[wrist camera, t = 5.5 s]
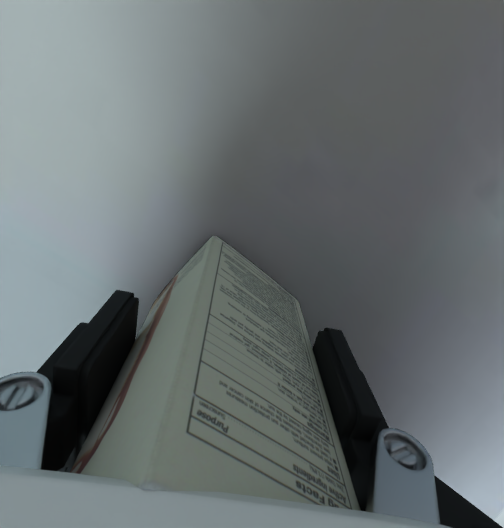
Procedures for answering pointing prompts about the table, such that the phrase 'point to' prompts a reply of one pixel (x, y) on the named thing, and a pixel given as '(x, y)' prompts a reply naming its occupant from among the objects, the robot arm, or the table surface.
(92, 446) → the cream medicine box
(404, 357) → the table surface
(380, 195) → the table surface
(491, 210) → the table surface
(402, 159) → the table surface
